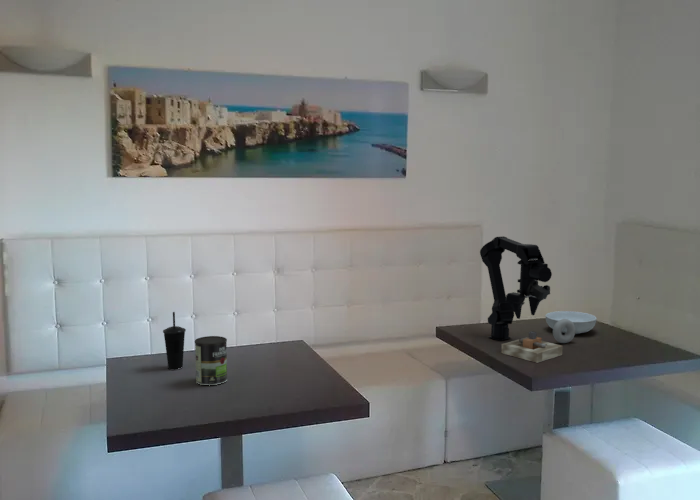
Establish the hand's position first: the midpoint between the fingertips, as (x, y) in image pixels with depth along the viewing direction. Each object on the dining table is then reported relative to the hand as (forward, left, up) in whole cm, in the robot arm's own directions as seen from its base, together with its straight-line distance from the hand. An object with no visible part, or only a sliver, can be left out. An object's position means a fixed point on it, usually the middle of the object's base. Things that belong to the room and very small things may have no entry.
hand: (525, 316), depth 256 cm
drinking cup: (-63, -116, -13) cm, 133 cm away
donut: (+5, +19, -13) cm, 23 cm away
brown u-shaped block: (+6, -4, -11) cm, 13 cm away
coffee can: (-42, -113, -13) cm, 121 cm away
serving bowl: (-4, +38, -13) cm, 40 cm away
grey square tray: (+6, -4, -13) cm, 15 cm away
